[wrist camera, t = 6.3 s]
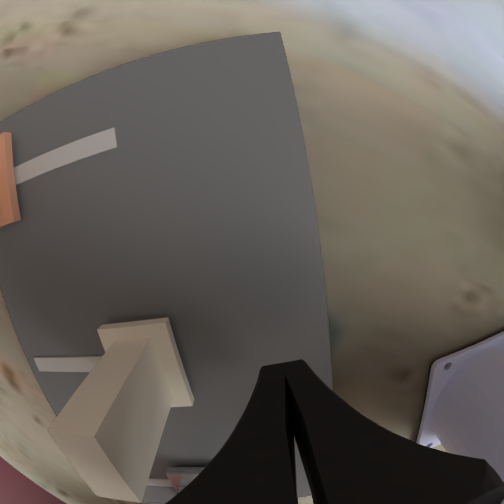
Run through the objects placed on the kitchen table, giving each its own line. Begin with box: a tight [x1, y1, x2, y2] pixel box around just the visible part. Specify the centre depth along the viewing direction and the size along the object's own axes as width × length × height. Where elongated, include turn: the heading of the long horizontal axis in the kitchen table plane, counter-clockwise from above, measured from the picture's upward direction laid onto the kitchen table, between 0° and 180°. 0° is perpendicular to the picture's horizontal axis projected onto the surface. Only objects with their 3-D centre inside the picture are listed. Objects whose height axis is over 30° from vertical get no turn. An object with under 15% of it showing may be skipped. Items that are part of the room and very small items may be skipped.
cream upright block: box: [47, 317, 194, 503], centre depth 9 cm, size 3×4×6 cm
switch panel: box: [0, 32, 333, 504], centre depth 13 cm, size 15×24×2 cm, turn 10°
